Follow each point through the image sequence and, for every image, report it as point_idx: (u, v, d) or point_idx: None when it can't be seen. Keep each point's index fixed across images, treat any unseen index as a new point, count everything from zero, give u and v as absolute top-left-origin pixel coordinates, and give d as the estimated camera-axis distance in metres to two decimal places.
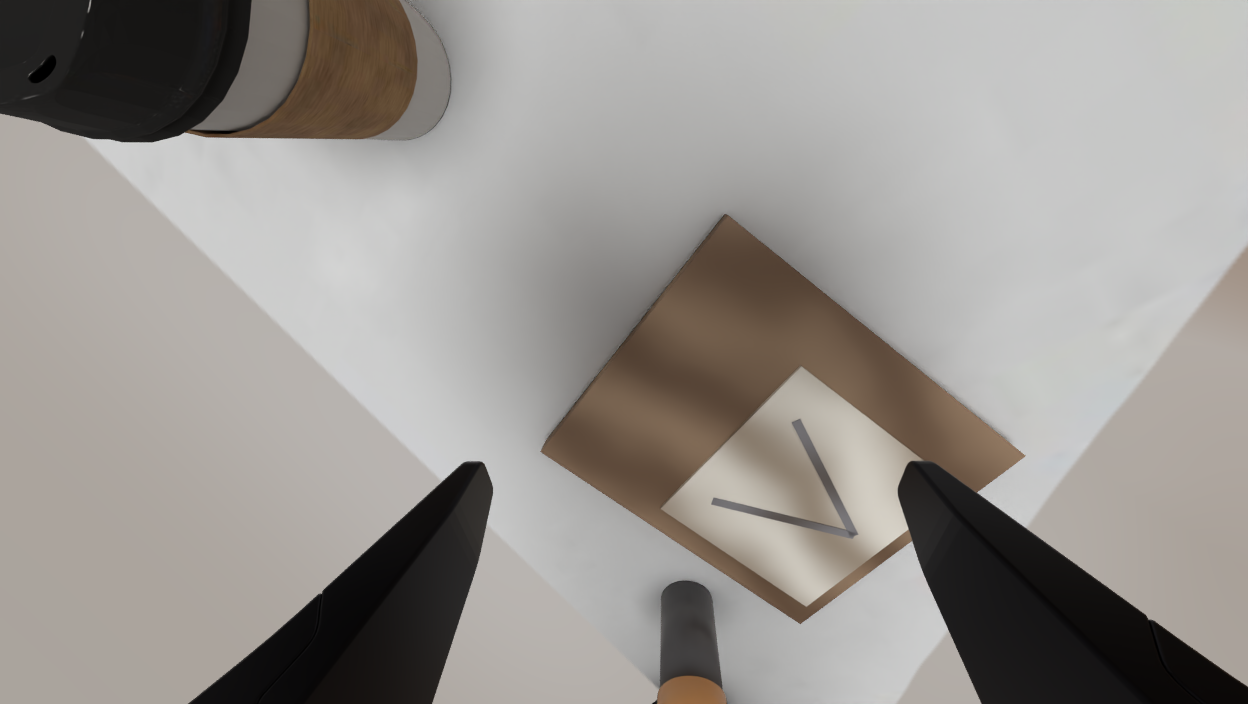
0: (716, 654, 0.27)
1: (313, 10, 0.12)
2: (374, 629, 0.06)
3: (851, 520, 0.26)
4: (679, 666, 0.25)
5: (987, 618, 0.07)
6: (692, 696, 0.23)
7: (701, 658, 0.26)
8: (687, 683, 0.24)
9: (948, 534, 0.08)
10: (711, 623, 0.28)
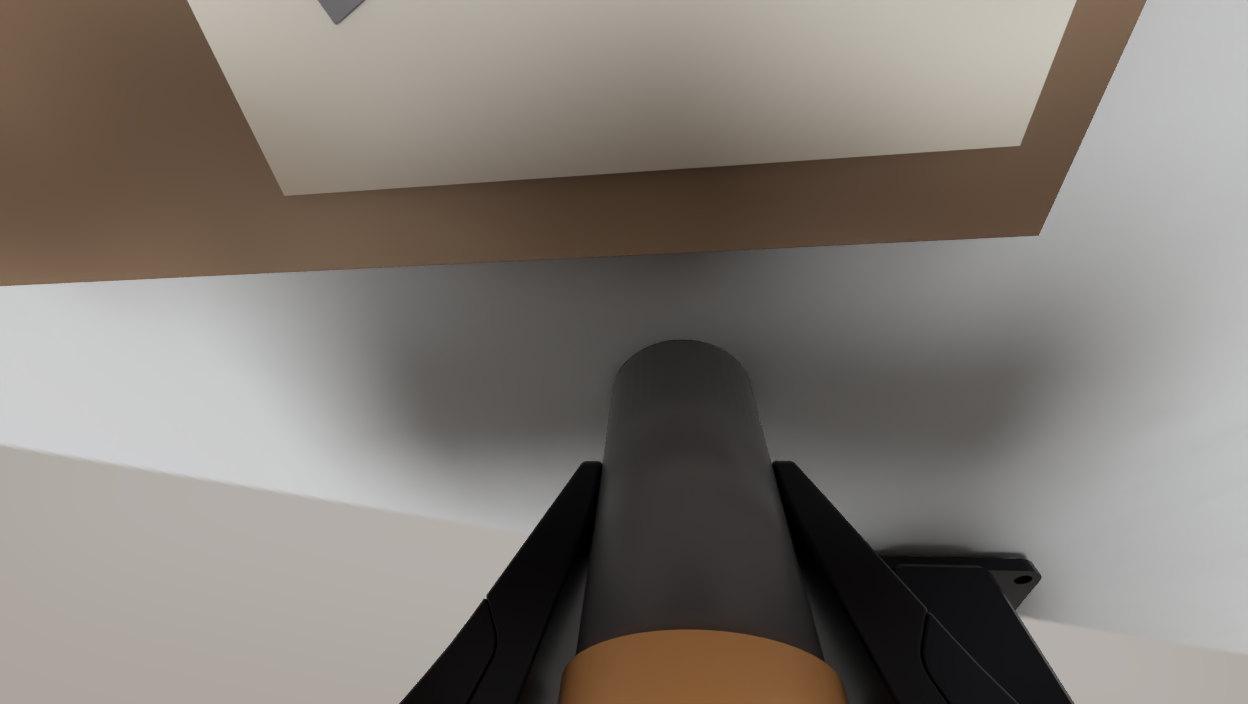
0: (737, 496, 0.07)
1: None
2: (549, 636, 0.06)
3: None
4: (587, 610, 0.06)
5: (812, 612, 0.07)
6: None
7: (654, 547, 0.06)
8: (583, 686, 0.05)
9: None
10: (711, 413, 0.09)
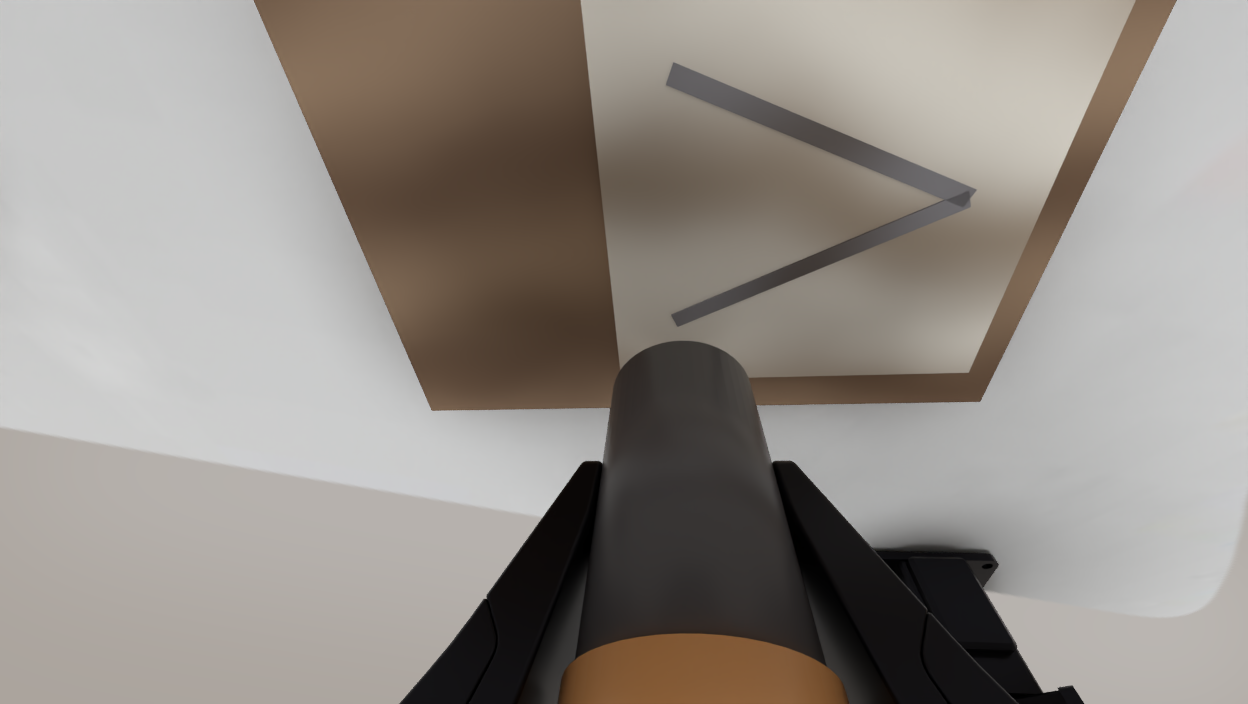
0: (738, 498, 0.07)
1: None
2: (549, 636, 0.06)
3: (939, 173, 0.12)
4: (587, 613, 0.06)
5: (812, 612, 0.07)
6: None
7: (654, 549, 0.06)
8: (583, 690, 0.05)
9: None
10: (712, 414, 0.08)
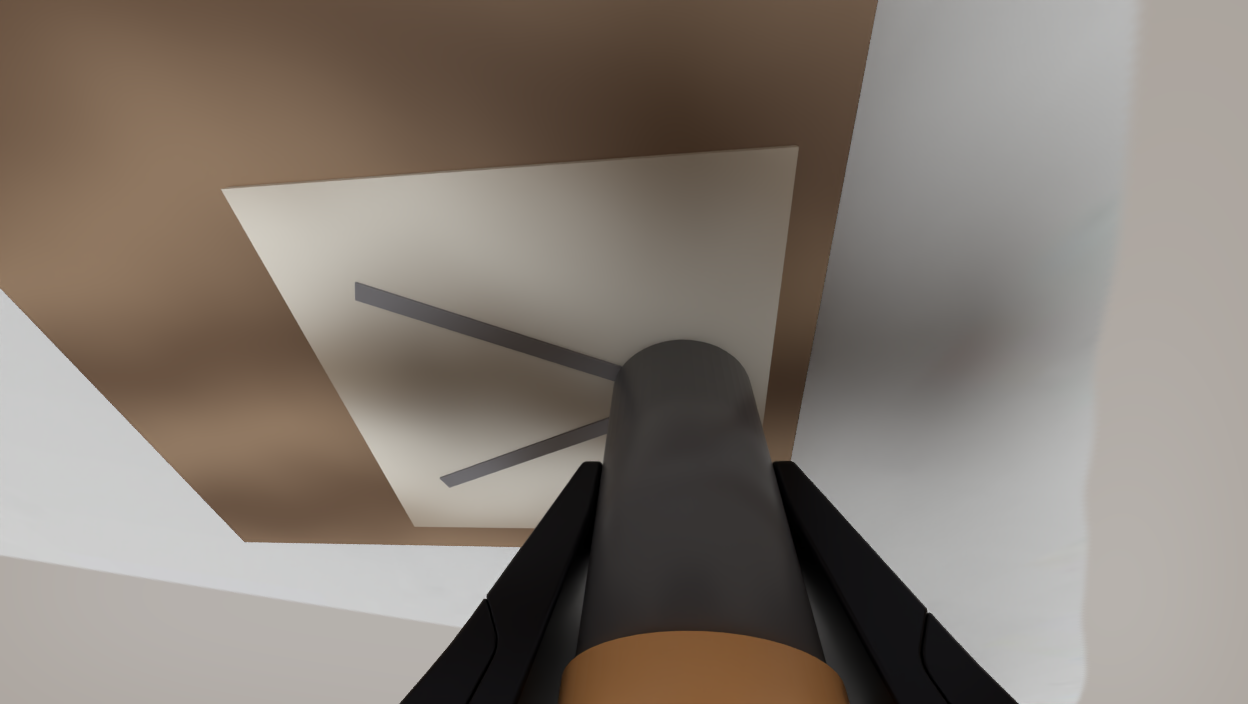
0: (738, 497, 0.07)
1: None
2: (549, 636, 0.06)
3: None
4: (588, 611, 0.06)
5: None
6: None
7: (655, 547, 0.06)
8: (583, 687, 0.05)
9: None
10: (712, 412, 0.08)
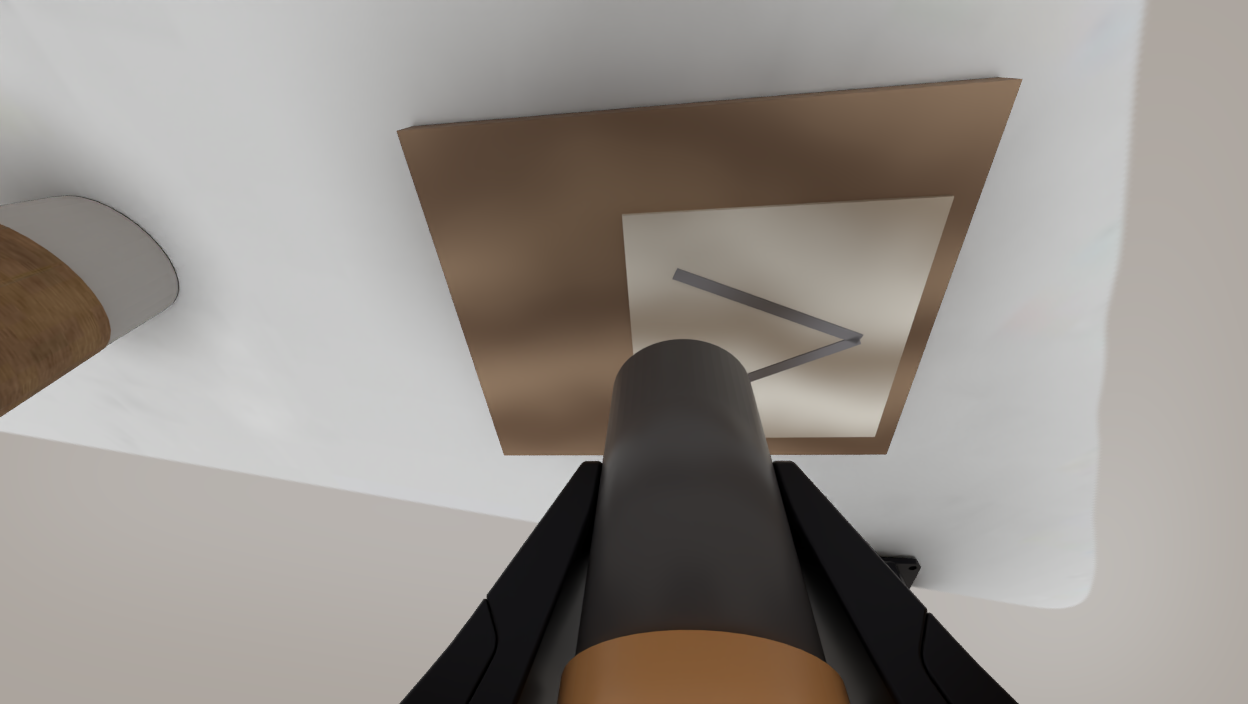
0: (738, 495, 0.07)
1: None
2: (549, 636, 0.06)
3: (839, 326, 0.19)
4: (587, 610, 0.06)
5: None
6: None
7: (654, 546, 0.06)
8: (583, 686, 0.05)
9: None
10: (712, 412, 0.08)
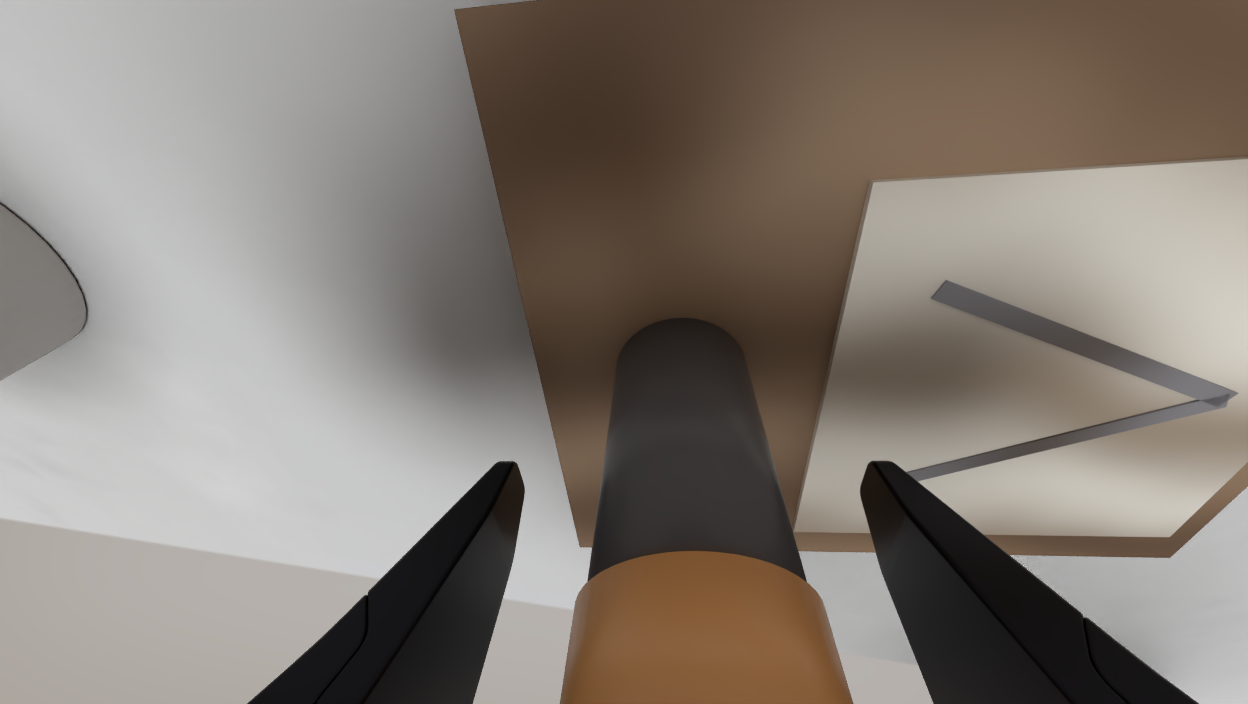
0: (732, 449, 0.08)
1: None
2: (422, 631, 0.06)
3: (1202, 379, 0.11)
4: (597, 548, 0.07)
5: (936, 616, 0.07)
6: (601, 652, 0.05)
7: (657, 490, 0.07)
8: (596, 602, 0.06)
9: (902, 533, 0.08)
10: (709, 380, 0.09)
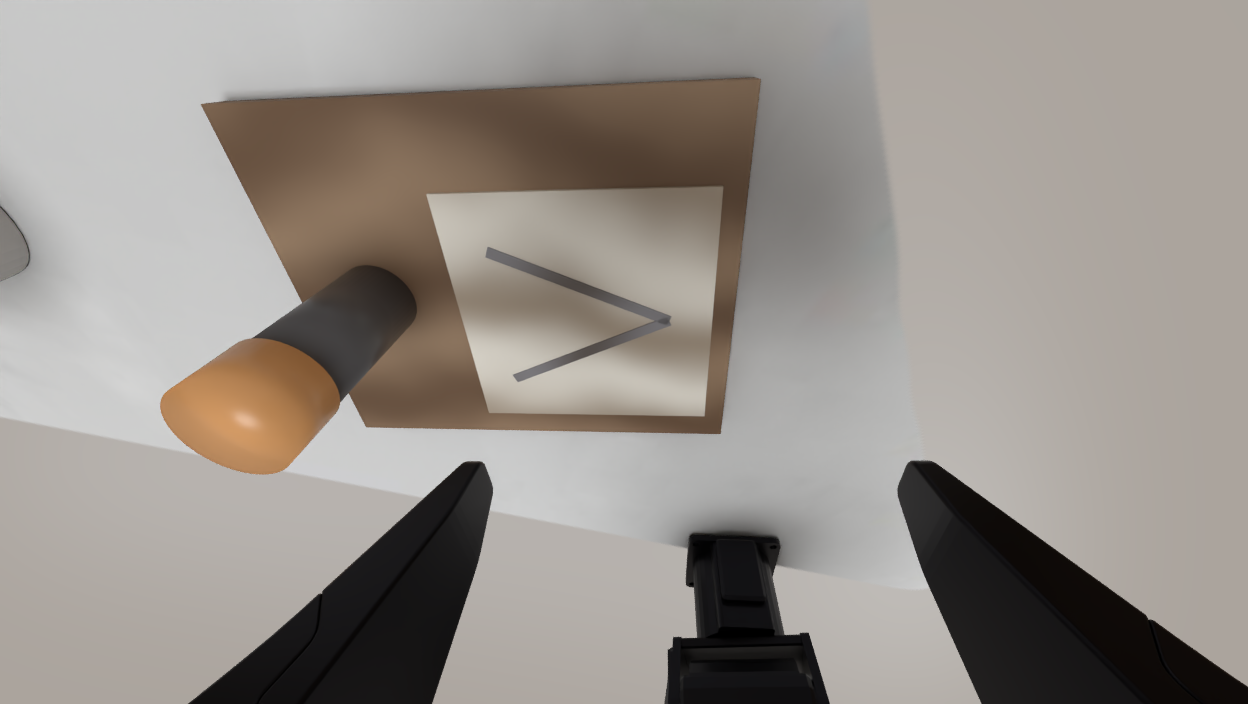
0: (322, 315, 0.17)
1: None
2: (374, 629, 0.06)
3: (648, 308, 0.20)
4: None
5: (987, 618, 0.07)
6: None
7: (270, 326, 0.16)
8: None
9: (948, 534, 0.08)
10: (344, 291, 0.18)
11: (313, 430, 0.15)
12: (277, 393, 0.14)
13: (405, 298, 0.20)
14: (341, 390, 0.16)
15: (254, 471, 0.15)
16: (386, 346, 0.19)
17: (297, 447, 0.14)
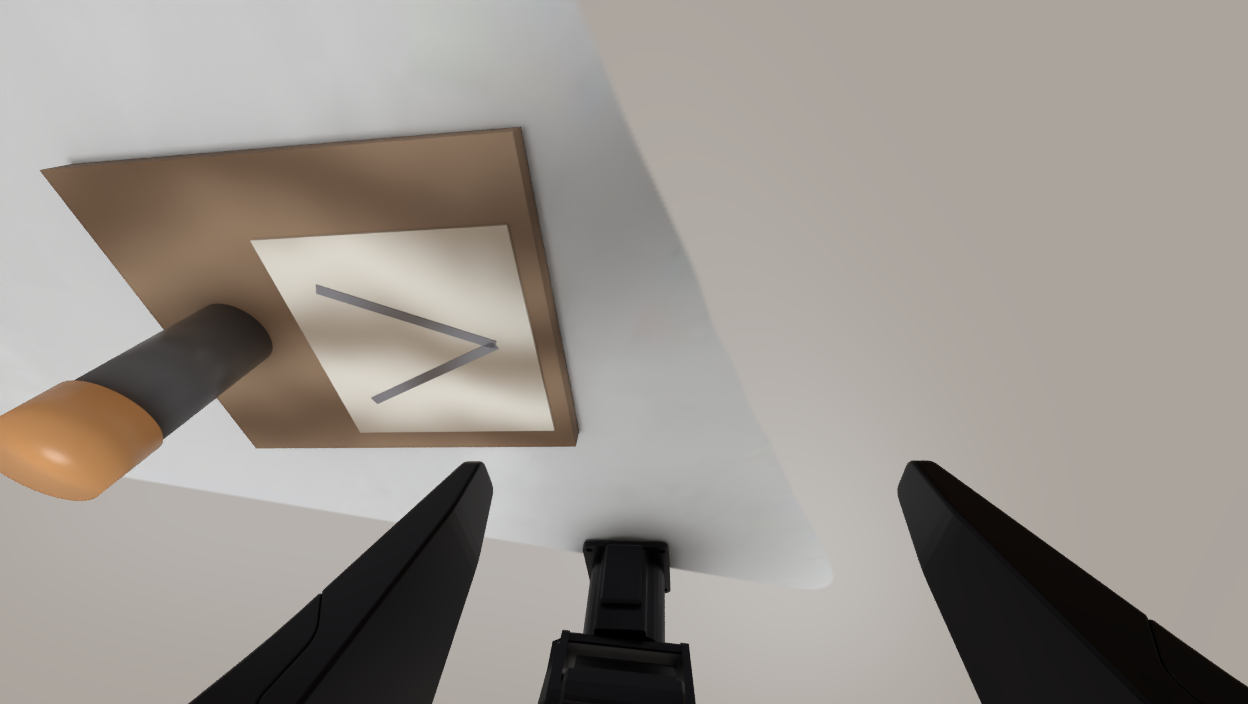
0: (148, 355, 0.19)
1: None
2: (374, 629, 0.06)
3: (473, 334, 0.22)
4: None
5: (987, 618, 0.07)
6: None
7: None
8: None
9: (948, 534, 0.08)
10: (182, 330, 0.20)
11: (125, 460, 0.17)
12: (76, 430, 0.16)
13: (254, 332, 0.22)
14: (164, 422, 0.18)
15: (74, 498, 0.17)
16: (229, 378, 0.21)
17: (103, 476, 0.16)
